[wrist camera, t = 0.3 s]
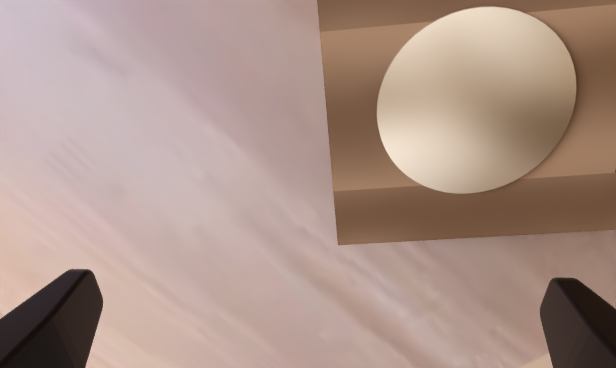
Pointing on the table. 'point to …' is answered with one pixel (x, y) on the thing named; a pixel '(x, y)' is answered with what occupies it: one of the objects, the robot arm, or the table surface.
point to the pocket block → (470, 117)
